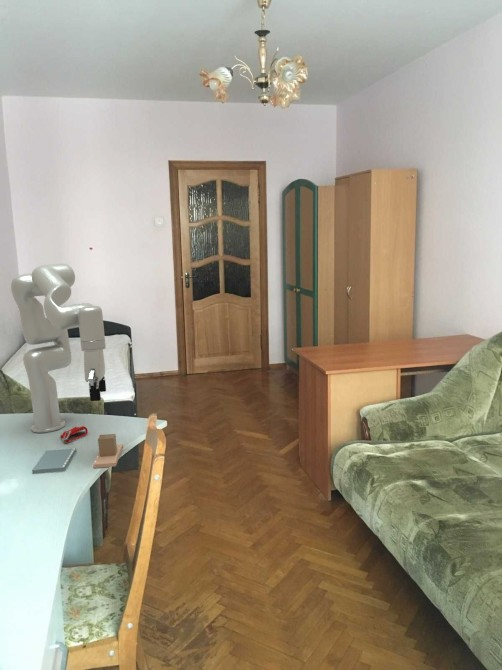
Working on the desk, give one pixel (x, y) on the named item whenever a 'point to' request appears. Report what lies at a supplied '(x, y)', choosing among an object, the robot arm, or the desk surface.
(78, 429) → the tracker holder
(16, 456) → the desk surface
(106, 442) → the stub
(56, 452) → the board
